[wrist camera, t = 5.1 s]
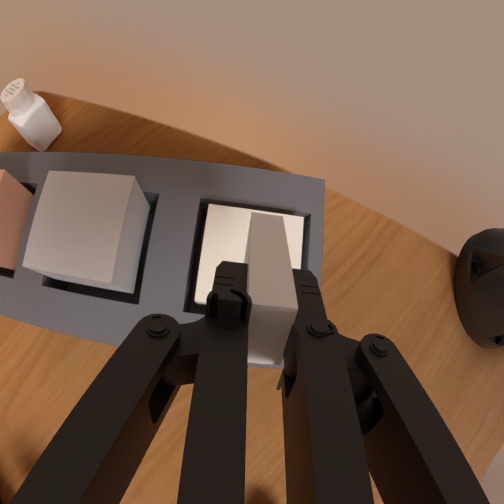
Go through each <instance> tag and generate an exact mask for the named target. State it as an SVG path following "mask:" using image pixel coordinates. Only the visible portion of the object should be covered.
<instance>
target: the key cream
mask: <svg viewBox="0 0 504 504" xmlns="http://www.w3.org/2000/svg"><path fill="white" fill-rule="evenodd" d="M251 212H255V213H263V214H270V215H277V216H283V220H284V226H285V231H286V237H287V243H288V248H289V254H290V260H291V266H292V268H295V269H300V268H301V254H302V239H303V222H304V217H299V216H293V215H286V214H280V213H273V212H266V211H259V210H252V209H244V208H237V207H230V206H222V205H214V204H209V206H208V212H207V219H206V225H205V231H204V237H203V244H202V251H201V257H200V264H199V271H198V278H197V285H196V293H195V300H194V301H195V302H196V303H197V305H198V306H199V307H206V299H207V296H208V294H209V292H210V291H212V287H213V282H214V277H215V271H216V267H217V266H218V265H219V264H220V263H221V262H222V261H230V262H238V263H244V258H245V251H246V245H247V238H248V231H249V225H250V218H251Z"/></svg>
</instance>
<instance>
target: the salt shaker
mask: <svg viewBox="0 0 504 504" xmlns="http://www.w3.org/2000/svg"><path fill="white" fill-rule="evenodd" d="M0 99H1V101H2V102H3V104H4V105H5V107H6V108H7V109H8V111H10V113H9V116H8V119H9V121H10V122H11V123H12V124H13V126H14V127H15V128H16V129H17V131H18V132H19V133H20V134H21V135H22V137H23V138H24V139H25V140H26V141H27V143H29V144H30V145H31V146H33V147H34V148H35V149H37V150H38V151H40V152H44V151H45V150H46V149H47V148H48V147H49V146H50V144H51V143H52V142H53V141H54V140H55V139H56V137H57V136H58V135H59V134H60V133H61V131H62V127H61V125H60V124H59V122H58V121H57V119H56V118H55V116H54V114H53V113H52V111H51V110H50V108H49V106H48V105H47V103H46V101H45V100H44V99H43V98H42V97H40V96H39V95H37V94H35V93H31V90H30V89H29V87H28V86H27V84H26V82H25V81H24V79H23V78H18V79H16V80H14V81H12V82H11V83H10V84H8V85H7V86H6V87H5V89H4V90H3V92H2V94H1V97H0Z"/></svg>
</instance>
